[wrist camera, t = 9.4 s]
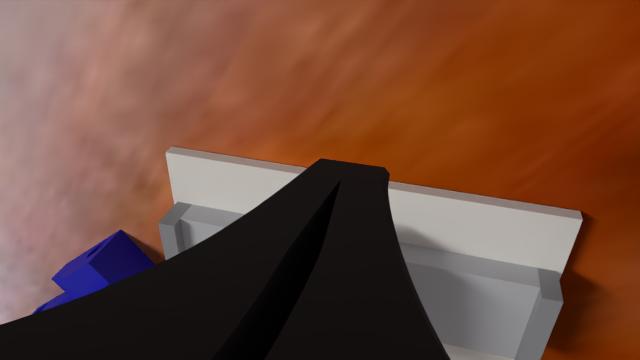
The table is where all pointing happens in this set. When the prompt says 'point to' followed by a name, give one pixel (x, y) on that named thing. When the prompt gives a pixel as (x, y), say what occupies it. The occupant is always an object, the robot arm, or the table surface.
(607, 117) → the table surface
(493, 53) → the table surface
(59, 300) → the cable clip
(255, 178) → the rail board
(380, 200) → the robot arm
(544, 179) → the table surface
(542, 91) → the table surface
